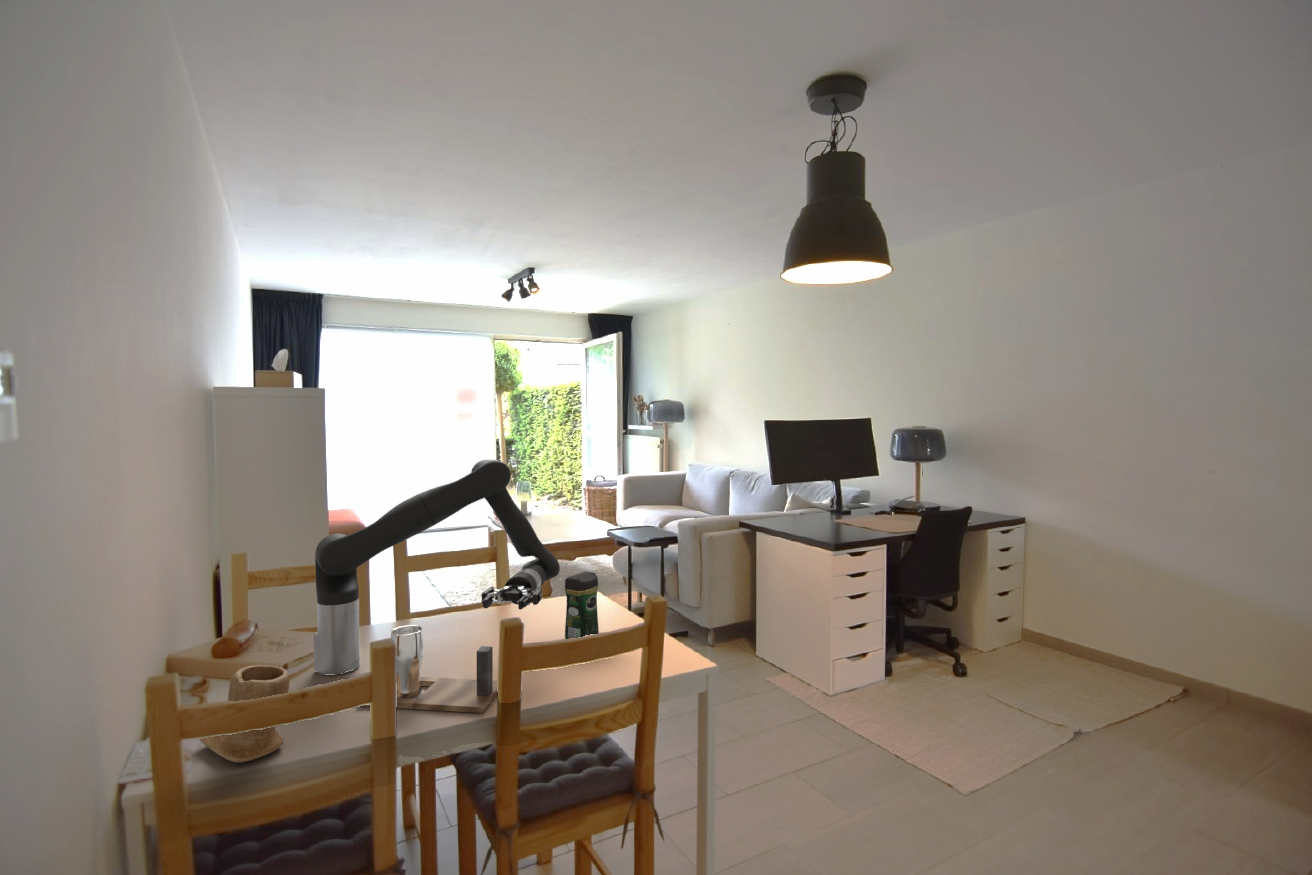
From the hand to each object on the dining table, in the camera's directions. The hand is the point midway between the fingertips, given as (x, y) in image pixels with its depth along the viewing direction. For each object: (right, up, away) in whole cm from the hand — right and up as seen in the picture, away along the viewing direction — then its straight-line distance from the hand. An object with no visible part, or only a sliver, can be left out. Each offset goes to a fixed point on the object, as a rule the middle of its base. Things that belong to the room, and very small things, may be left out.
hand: (502, 604), depth 150 cm
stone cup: (-41, -19, -31) cm, 54 cm away
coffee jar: (+15, -17, +28) cm, 36 cm away
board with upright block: (-13, -18, -9) cm, 24 cm away
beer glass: (-19, -18, -9) cm, 28 cm away
